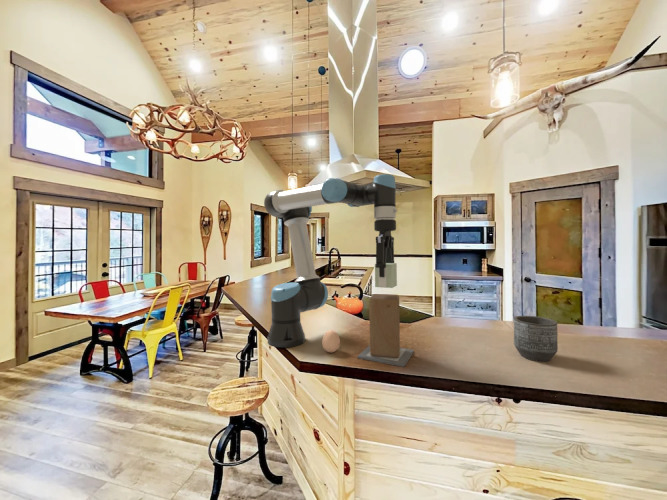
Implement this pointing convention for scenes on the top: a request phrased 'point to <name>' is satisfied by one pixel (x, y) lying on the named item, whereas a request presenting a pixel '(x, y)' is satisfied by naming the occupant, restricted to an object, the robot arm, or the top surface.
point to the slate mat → (398, 361)
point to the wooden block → (384, 325)
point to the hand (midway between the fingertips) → (385, 285)
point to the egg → (331, 341)
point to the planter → (535, 337)
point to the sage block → (388, 275)
